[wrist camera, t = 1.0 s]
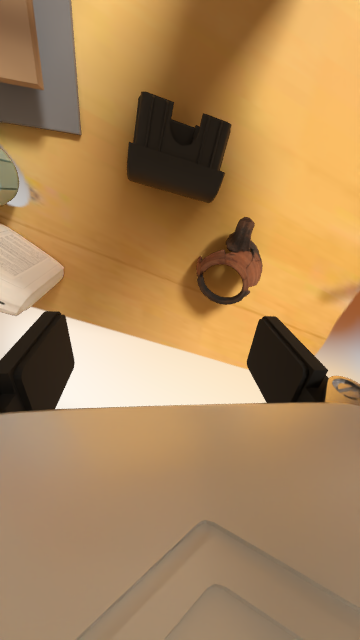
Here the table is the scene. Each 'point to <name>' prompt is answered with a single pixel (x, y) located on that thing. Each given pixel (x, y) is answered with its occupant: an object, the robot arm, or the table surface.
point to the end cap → (176, 151)
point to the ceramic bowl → (7, 179)
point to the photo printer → (24, 272)
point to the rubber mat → (48, 75)
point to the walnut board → (19, 45)
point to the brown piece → (234, 262)
